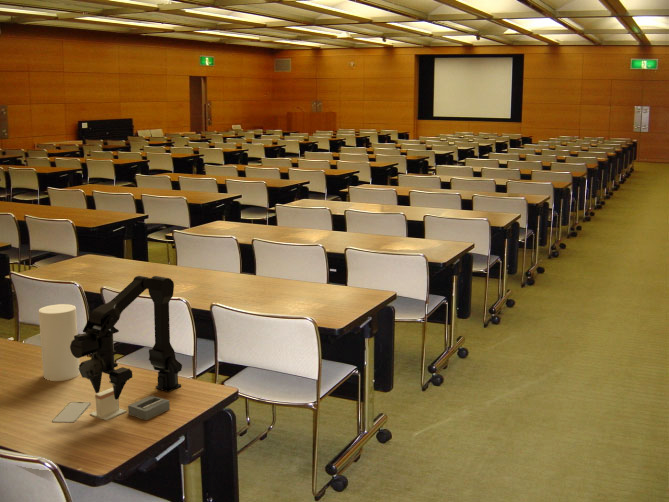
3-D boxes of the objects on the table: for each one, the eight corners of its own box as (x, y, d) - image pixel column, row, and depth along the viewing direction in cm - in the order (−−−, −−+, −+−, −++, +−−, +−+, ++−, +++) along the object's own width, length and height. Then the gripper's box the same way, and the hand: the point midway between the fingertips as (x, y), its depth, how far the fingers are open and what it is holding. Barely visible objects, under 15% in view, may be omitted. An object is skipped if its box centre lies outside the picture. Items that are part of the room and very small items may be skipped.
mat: (109, 406, 229) (109, 404, 229) (126, 411, 225) (126, 410, 225) (89, 414, 222) (89, 413, 222) (106, 420, 218) (106, 419, 218)
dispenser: (152, 403, 231) (151, 394, 230) (169, 409, 227) (169, 399, 226) (128, 414, 223) (127, 404, 222) (146, 420, 219) (145, 410, 218)
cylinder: (78, 379, 252) (73, 312, 247) (40, 382, 249) (35, 314, 244) (82, 367, 263) (77, 303, 259) (46, 370, 261) (41, 305, 256)
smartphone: (50, 421, 217) (69, 402, 231) (50, 423, 217) (69, 403, 231) (74, 422, 216) (92, 402, 231) (74, 424, 217) (92, 404, 231)
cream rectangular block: (114, 407, 227) (113, 387, 226) (119, 409, 226) (118, 388, 224) (96, 414, 221) (95, 394, 220) (101, 416, 220) (100, 395, 219)
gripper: (63, 350, 218) (66, 397, 221) (103, 362, 208) (105, 411, 211) (92, 341, 227) (95, 386, 230) (132, 351, 217) (134, 399, 220)
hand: (107, 395), depth 222 cm, fingers open, 9 cm apart
